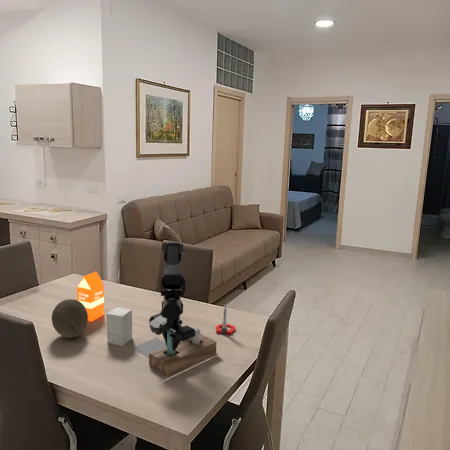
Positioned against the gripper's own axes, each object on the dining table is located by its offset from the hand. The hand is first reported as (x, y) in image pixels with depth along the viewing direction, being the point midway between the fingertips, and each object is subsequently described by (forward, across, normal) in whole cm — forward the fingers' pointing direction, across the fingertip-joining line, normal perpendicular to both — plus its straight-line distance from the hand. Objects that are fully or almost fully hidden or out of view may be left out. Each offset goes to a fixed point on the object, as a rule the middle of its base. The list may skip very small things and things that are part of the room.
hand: (171, 348), depth 151 cm
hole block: (+6, 0, +6) cm, 9 cm away
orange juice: (+7, -57, +1) cm, 57 cm away
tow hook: (+7, -7, +36) cm, 37 cm away
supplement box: (+7, -28, -3) cm, 29 cm away
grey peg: (+6, 0, +12) cm, 14 cm away
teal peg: (+3, 0, 0) cm, 3 cm away
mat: (+6, -14, +3) cm, 16 cm away
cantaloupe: (+7, -45, -15) cm, 48 cm away
